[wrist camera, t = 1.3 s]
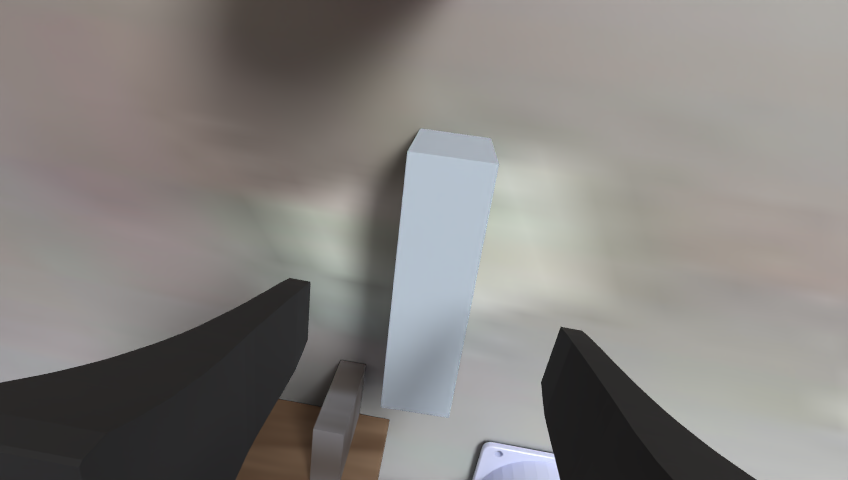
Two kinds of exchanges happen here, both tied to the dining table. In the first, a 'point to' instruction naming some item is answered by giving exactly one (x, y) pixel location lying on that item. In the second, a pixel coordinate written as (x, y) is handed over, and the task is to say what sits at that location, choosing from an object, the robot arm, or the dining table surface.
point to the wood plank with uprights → (320, 437)
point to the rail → (436, 267)
